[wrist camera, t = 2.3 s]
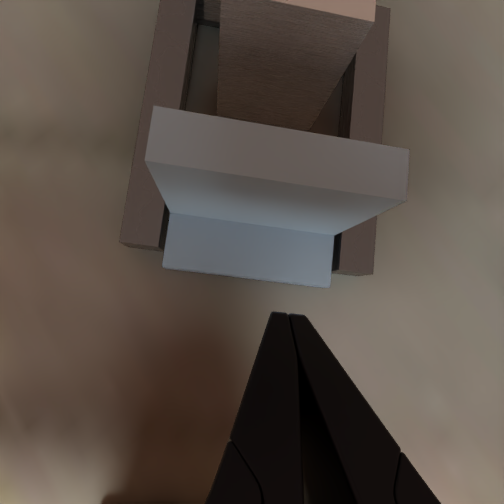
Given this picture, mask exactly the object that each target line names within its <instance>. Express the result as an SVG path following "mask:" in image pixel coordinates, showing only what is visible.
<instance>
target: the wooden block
mask: <svg viewBox="0 0 504 504" xmlns="http://www.w3.org/2000/svg"><path fill="white" fill-rule="evenodd" d="M375 8H376V0H221V9H220V37H219V65H218V93H217V115H218V116H223V117H229V118H235V119H241V120H247V121H253V122H258V123H264V124H270V125H276V126H282V127H288V128H294V129H299V130H305V131H309V130H310V128H311V127H312V125H313V123H314V122H315V120H316V118H317V117H318V115H319V113H320V112H321V110H322V108H323V107H324V105H325V103H326V102H327V100H328V98H329V97H330V95H331V93H332V92H333V90H334V88H335V87H336V85H337V83H338V82H339V80H340V78H341V77H342V75H343V73H344V72H345V70H346V68H347V67H348V65H349V63H350V62H351V60H352V58H353V57H354V55H355V53H356V52H357V50H358V48H359V47H360V45H361V43H362V42H363V40H364V38H365V37H366V35H367V33H368V32H369V30H370V29H371V27H372V25H373V24H374V21H375Z"/></svg>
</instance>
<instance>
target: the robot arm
mask: <svg viewBox="0 0 504 504" xmlns="http://www.w3.org/2000/svg"><path fill="white" fill-rule="evenodd" d="M205 504H441V503H440V502H439V500H438V499H437V498H436V496H435V495H434V494H433V492H432V491H431V490H430V488H429V487H428V486H427V484H426V483H425V481H424V480H423V479H422V477H421V476H420V475H419V473H418V472H417V471H416V469H415V468H414V467H413V465H412V464H411V462H410V461H409V460H408V458H407V457H406V455H405V454H404V453H403V452H401V449H400V447H399V446H398V444H397V443H396V442H395V440H394V439H393V437H392V436H391V435H390V433H389V432H388V430H387V429H386V428H385V426H384V425H383V423H382V422H381V421H380V419H379V418H378V416H377V415H376V414H375V412H374V411H373V409H372V408H371V407H370V405H369V404H368V402H367V401H366V399H365V398H364V397H363V395H362V394H361V392H360V391H359V390H358V388H357V387H356V385H355V384H354V383H353V381H352V380H351V378H350V377H349V376H348V374H347V373H346V371H345V370H344V369H343V367H342V366H341V364H340V363H339V362H338V360H337V359H336V357H335V356H334V355H333V353H332V352H331V350H330V349H329V348H328V346H327V345H326V343H325V342H324V341H323V339H322V338H321V336H320V335H319V334H318V332H317V331H316V329H315V328H314V327H313V325H312V324H311V322H310V321H309V320H308V318H307V317H306V316H305V315H301V314H292V313H291V314H287V313H282V312H271V314H270V317H269V320H268V323H267V326H266V329H265V332H264V335H263V338H262V341H261V344H260V347H259V350H258V353H257V356H256V359H255V362H254V365H253V368H252V371H251V374H250V377H249V380H248V383H247V386H246V389H245V392H244V395H243V398H242V401H241V404H240V407H239V410H238V413H237V416H236V419H235V422H234V425H233V428H232V431H231V434H230V437H229V440H228V442H227V445H226V448H225V451H224V454H223V457H222V460H221V463H220V466H219V468H218V471H217V474H216V476H215V479H214V482H213V484H212V487H211V490H210V492H209V495H208V497H207V499H206V501H205Z"/></svg>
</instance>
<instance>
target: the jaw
mask: <svg viewBox="0 0 504 504" xmlns="http://www.w3.org/2000/svg"><path fill="white" fill-rule="evenodd" d="M409 153H410V149H405V148H399V147H393V146H387V145H382V144H376V143H370V142H364V141H358V140H352V139H346V138H341V137H335V136H329V135H323V134H317V133H311V132H305V131H300V130H294V129H288V128H282V127H276V126H270V125H265V124H259V123H253V122H247V121H241V120H235V119H229V118H224V117H218V116H212V115H206V114H200V113H194V112H188V111H183V110H177V109H171V108H165V107H159V106H153V112H152V118H151V124H150V131H149V137H148V143H147V149H146V155H145V163H146V165H147V167H148V169H149V171H150V173H151V175H152V177H153V179H154V181H155V183H156V185H157V187H158V189H159V191H160V193H161V195H162V197H163V199H164V201H165V203H166V205H167V207H168V209H169V211H170V217H169V224H168V230H167V237H166V243H165V250H164V257H163V263H162V267H163V268H165V269H172V270H180V271H188V272H197V273H205V274H213V275H221V276H229V277H237V278H246V279H254V280H262V281H270V282H278V283H287V284H295V285H303V286H311V287H319V288H326V287H330V281H331V269H332V257H333V245H334V235H336V234H339V233H341V232H343V231H345V230H347V229H349V228H351V227H353V226H355V225H357V224H360V223H362V222H364V221H366V220H368V219H370V218H372V217H374V216H376V215H378V214H381V213H383V212H385V211H387V210H389V209H391V208H393V207H395V206H397V205H399V204H402V203H404V202H406V201H407V190H408V171H409Z"/></svg>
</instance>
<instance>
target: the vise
mask: <svg viewBox="0 0 504 504" xmlns="http://www.w3.org/2000/svg"><path fill="white" fill-rule="evenodd" d="M220 9H221V0H160V6H159V12H158V18H157V24H156V29H155V35H154V41H153V47H152V53H151V59H150V65H149V70H148V76H147V82H146V88H145V94H144V100H143V106H142V111H141V117H140V123H139V129H138V135H137V141H136V147H135V152H134V158H133V164H132V170H131V176H130V182H129V187H128V193H127V199H126V205H125V211H124V217H123V223H122V228H121V234H120V240H119V242H121V243H122V244H124V245H126V246H128V247H133V248H141V249H148V250H156V251H163V249H164V243H165V236H166V229H167V223H168V216H169V209H168V207H167V205H166V203H165V201H164V199H163V197H162V195H161V193H160V191H159V189H158V187H157V185H156V183H155V181H154V179H153V177H152V175H151V173H150V171H149V169H148V167H147V165H146V163H145V155H146V149H147V143H148V137H149V131H150V124H151V118H152V112H153V106H159V107H165V108H171V109H177V110H183V111H185V105H186V98H187V91H188V85H189V78H190V72H191V65H192V59H193V52H194V45H195V39H196V32H197V26H198V24H202V25H207V26H212V27H217V28H220ZM389 23H390V8H386V7H381V6H377V5H376V8H375V21H374V24H373V25H372V27H371V29H370V30H369V32H368V33H367V35H366V37H365V38H364V40H363V42H362V43H361V45H360V47H359V48H358V50H357V52H356V53H355V55H354V57H353V58H352V60H351V62H350V63H349V65H348V67H347V68H346V70H345V72H344V77H343V89H342V101H341V113H340V125H339V136H338V137H341V138H346V139H352V140H358V141H364V142H370V143H376V144H382V129H383V114H384V99H385V83H386V68H387V53H388V38H389ZM376 220H377V215H376V216H374V217H372V218H370V219H368V220H366V221H364V222H362V223H360V224H357V225H355V226H353V227H351V228H349V229H347V230H345V231H343V232H341V233H339V234H336V235H334V245H333V257H332V269H331V273H337V274H345V275H353V276H363V275H371V274H373V266H374V250H375V235H376Z"/></svg>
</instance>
